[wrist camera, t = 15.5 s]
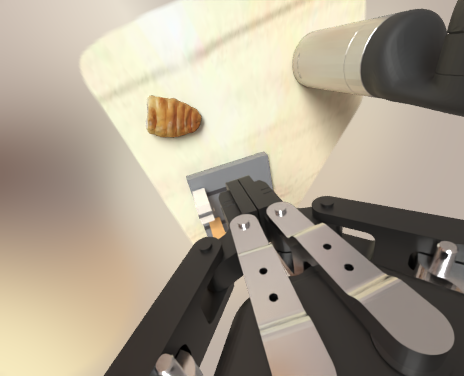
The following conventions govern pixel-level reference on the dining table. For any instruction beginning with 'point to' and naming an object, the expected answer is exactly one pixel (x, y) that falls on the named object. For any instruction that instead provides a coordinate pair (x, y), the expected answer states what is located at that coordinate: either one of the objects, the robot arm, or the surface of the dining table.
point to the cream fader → (203, 206)
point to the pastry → (171, 117)
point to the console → (219, 175)
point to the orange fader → (217, 228)
